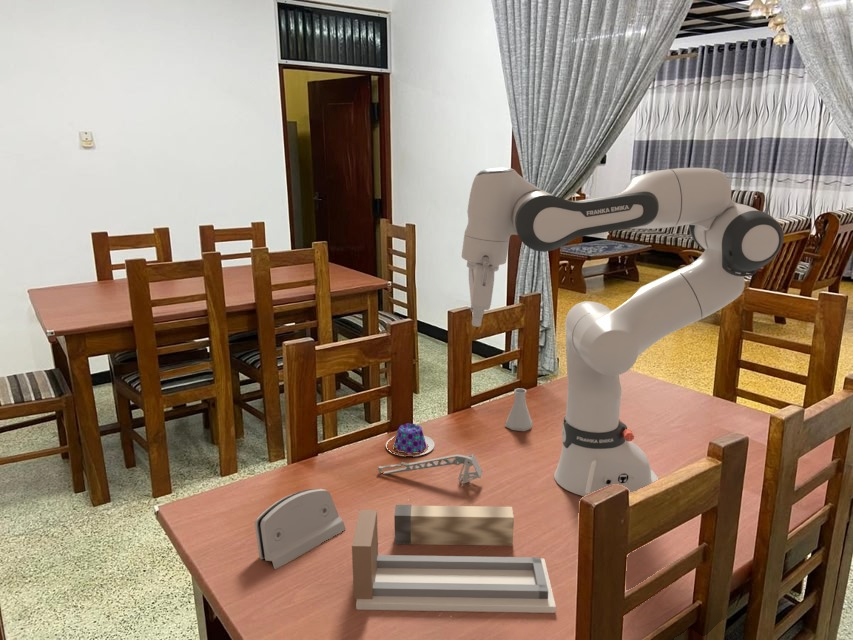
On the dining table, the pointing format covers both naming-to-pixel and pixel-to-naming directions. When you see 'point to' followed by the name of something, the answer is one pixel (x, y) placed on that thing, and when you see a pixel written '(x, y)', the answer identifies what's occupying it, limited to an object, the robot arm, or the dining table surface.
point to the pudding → (411, 439)
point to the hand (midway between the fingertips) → (475, 318)
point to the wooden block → (454, 525)
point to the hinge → (296, 525)
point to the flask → (519, 413)
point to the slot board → (444, 579)
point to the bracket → (458, 460)
